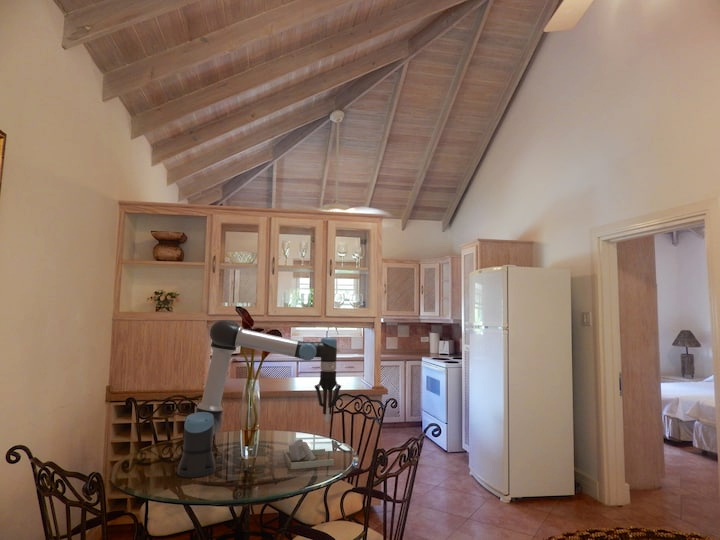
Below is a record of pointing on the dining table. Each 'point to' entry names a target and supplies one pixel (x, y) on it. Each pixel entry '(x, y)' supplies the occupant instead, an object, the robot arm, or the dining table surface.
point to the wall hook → (300, 450)
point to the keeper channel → (308, 463)
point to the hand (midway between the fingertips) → (326, 421)
